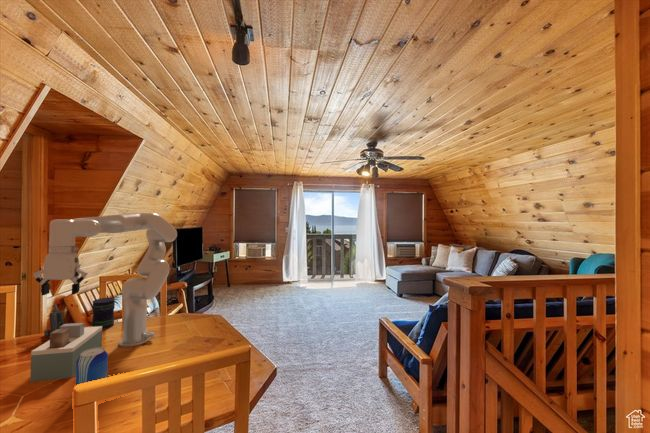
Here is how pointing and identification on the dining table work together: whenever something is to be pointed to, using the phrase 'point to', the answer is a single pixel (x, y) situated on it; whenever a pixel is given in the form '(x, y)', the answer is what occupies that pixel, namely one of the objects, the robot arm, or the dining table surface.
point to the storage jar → (103, 312)
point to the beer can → (92, 365)
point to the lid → (70, 339)
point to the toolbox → (60, 362)
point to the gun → (54, 321)
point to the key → (59, 338)
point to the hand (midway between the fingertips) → (60, 293)
